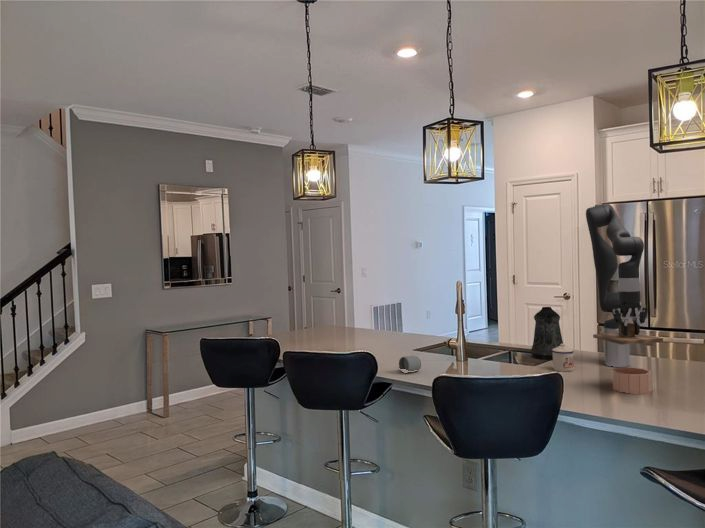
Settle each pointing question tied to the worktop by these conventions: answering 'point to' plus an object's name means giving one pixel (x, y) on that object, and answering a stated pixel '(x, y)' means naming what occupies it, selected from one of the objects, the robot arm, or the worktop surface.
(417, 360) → the ceramic mug
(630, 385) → the bowl
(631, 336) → the lid
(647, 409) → the worktop surface
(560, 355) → the teacup with lid
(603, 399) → the worktop surface
